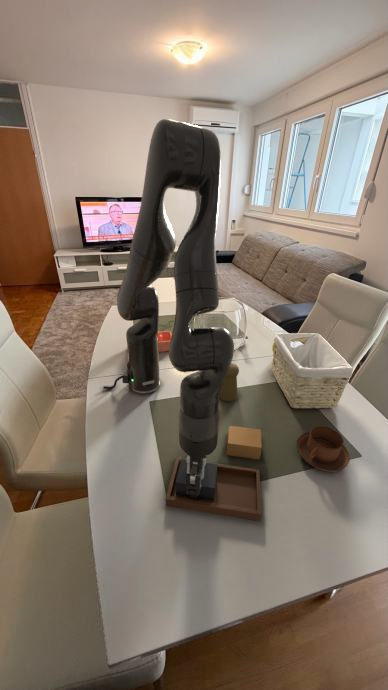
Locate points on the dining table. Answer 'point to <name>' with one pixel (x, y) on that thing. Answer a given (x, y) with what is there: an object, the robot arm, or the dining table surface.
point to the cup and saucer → (323, 449)
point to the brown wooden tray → (224, 493)
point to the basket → (309, 370)
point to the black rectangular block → (206, 483)
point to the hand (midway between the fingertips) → (196, 483)
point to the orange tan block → (244, 442)
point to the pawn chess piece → (230, 384)
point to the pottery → (164, 340)
